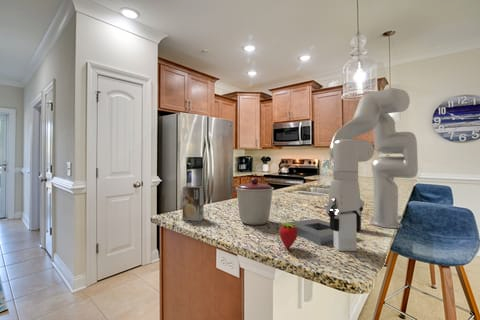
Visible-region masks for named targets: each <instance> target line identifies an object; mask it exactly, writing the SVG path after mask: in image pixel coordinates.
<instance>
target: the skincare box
mask: <svg viewBox="0 0 480 320" xmlns="http://www.w3.org/2000/svg"><path fill="white" fill-rule="evenodd" d="M334 213H336V212H334ZM338 219H339V231H334V243H333V247H334V248H335V249H336V251H339V252H357V245H358V243H357V240H358V239H357V235H358V234H357V232H358V231H357V225H356V214H355V213H352V212H341V213H340V214H339V216H338Z"/></svg>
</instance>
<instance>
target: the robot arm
mask: <svg viewBox="0 0 480 320" xmlns="http://www.w3.org/2000/svg"><path fill="white" fill-rule="evenodd" d="M410 101H411V100H410V96H409V93H408V91H406V90H404V89H401V88H395V87H394V88H387V89H386V88H385V89H382V90H376V91H371V92H368V93H365V94H363V95H362V96H361V98H360V99H359V102H358V104H357V107H356V109H355V112H354V115H353V118H352V119H350V120H349V121H348V122H346V123H345V124H344V125H342V126H341V127H340V128H339V129H338V130H337V131H336V132H335V133H334V135H333V137H332V140H331V142H330V145H329V150H328V151H329V152H328V154H329V158H330V159H332V161H333V163H332V164H333V165H332V166H333V167H332V168H333V169H332V171H333V172H332V173H333V174H332V176H333V178H332V180H331V183H330V187H329V192H328V193H329V194H328V201H327V202H326V203H325V204H324V209H325V211H326V214H327V216H328V218H329V223H330V229H331V230H334V231H339V219H338V216H339V214H340V213H341V212H350V211H351V212H352V213H355V214H356V225H357V228H360V216H361V217H362V212H363V210H364V206H365V201H364V200H363V199H361V190H360V183H359V182H360V181H359V163H360V162H368V161H369V160H371V159H372V158H373V156H374V155H375V152H376V153H378V154H380V155H381V154H385V155H386V154H387V155H388V154H390V155H391V154H399V155H400V154H402V155H403V156H379V157H378V156H377V157H375V158H374V159H373V160H372V162H371V170H372V176H373V177H372V179H373V218H372V219H370V220H369V223H370V224H371V225H373V226H376V227H379V228H380V227H381V228H387V229H400V228H403V224H402V223H401V222H399V221H400V220H402V219H403V216H402V215H400V214H399V211H398V210H399V187H398V185H397V184H396V182H395V181H394V180H393V179H394V178H395V179H396V178H398V179H413V178H416V176H417V174H418V170H419V163H418V161H419V160H418V142H417V137H416V135H415V133H413V132H412V131H396V121H395V119H394V118H393V117H392V116H391V115H390V114H393V113H394V114H395V113H401V112H405V111H407V110H408V109H409V106H410ZM372 131H373V144H372V143H371V142H370V141H368V140H366V139H365V140H364V139H359V140H356V139H355V138H357V137H359V136H362V135H364V134H365V135H366V134H367V133H369V132H372ZM334 212H336V213H334Z"/></svg>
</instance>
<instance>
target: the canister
mask: <svg viewBox="0 0 480 320" xmlns="http://www.w3.org/2000/svg"><path fill="white" fill-rule="evenodd" d="M274 189H275V188H274V187H273V186H271V185H270V184H267V183H259V179H258V178H257V177H253V178H251V179H250V182H249V183H241V184H238V185H237V186H235V190H236V194H237V196H236V198H237V205H238V207H237V208H238V213H239V219H240V221H241V223H243V224H246V225H251V226H258V225H259V226H261V225H264V224H266V223H268V222H269V219H270V213H271V207H272V197H273V190H274Z"/></svg>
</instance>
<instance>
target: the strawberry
mask: <svg viewBox="0 0 480 320" xmlns="http://www.w3.org/2000/svg"><path fill="white" fill-rule="evenodd" d="M287 222H291V219H289V220H288V221H287ZM287 222H285V223H284V222H283V223H281V224H280V225H281V227H280V228H279V231H278V233H279V236H280V240H281V242H282V244H283V245H284V247H285V248H286V250H289V249H290V248H291V247H292V246H293V244H294V243H295V241H296V240H297V237H298V235H297V229H296V228H295V227H294V226H297V225H294V224H292V223H287ZM291 224H292V225H291Z"/></svg>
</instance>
